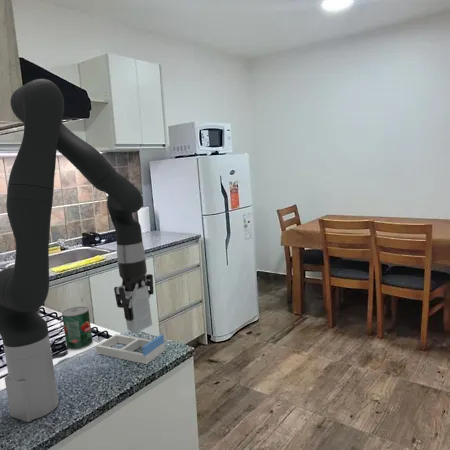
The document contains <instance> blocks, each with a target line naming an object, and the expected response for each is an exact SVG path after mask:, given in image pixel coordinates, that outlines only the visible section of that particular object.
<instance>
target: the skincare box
mask: <svg viewBox="0 0 450 450" xmlns="http://www.w3.org/2000/svg"><path fill="white" fill-rule="evenodd" d="M148 290H149V287H148V288H147V286H144V287H140V288H138V289H137V290H136V295H135V299H134V300H131V302H132V311H133V320H132V321H128V320H126V319H125V322H126V329H127V331H129V332H133V333H135V334H136V333H139V332H142V331H144V330H145V329H147V328H149V327H151V326H153V319H152V314H151V304H150V298H149V296H148ZM132 293H133V292H132V291H131V292H129V291H127V292H125V295H126V296H130V297H131V296H132ZM128 301H129V299H127V303H128Z"/></svg>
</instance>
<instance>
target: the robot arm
mask: <svg viewBox="0 0 450 450" xmlns="http://www.w3.org/2000/svg"><path fill="white" fill-rule="evenodd" d="M64 99H65V98H64V96H63V93H62V92H61V90H60V88H59V86H58V85H57V84H55V83H54V82H53V81H51V80H50V79H46V78H37V79H33V80H30V81H27V83H26V84H23V85H22V86H20V87H19V88H17V89H15V90H14V91H13V92H12V94H11V97H10V108H11V110H12V112H13V114H14V116H16V118H18V120H19V121H20V122H21V123H22V124H23V136H22V140H21V144H20V146H19V148H18V153H17V155H16V157H15V159H14V160H13V161H14V162H13V164H12V167H11V169H10V172H9V179H8V182H7V192H6V204H5V205H6V213H7V218H8V220H9V221H8V222H9V225H10V228H11V231H12V234H13V237H14V242H15V243H14V244H15V256H14V257H15V259H14V266H13V267H7V268H4V269H2V270H0V337H1V339H2V344H3V351H4V356H5V362H6V369H7V375H6V376H5V378H4V383H5V384H4V385H5V390H6V396H7V401H8V406H9V407H8V408H9V412H10V417H11V418H15V419H17V420H19V421H22V422H25V423H30V422H31V421H33V420H37V419H40V418H42V417H45V416H47V415H49V414H50V413H52V412H53V411H54V410H55V409H56V408H57V407H58V405H59V402H60V401H59V396H58V395H59V394H58V387H57V382H56V375H55V368H54V362H53V355H52V348H51V341H50V335H49V328H48V327H49V326H48V323H47V322H46V320H45V318H43V317H42V316H41V315H40V313H38V310H39V309H40V308H41V307H42V306H44V304H45V302H46V300H47V297H48V295H49V291H50V290H49V289H50V256H49V255H50V254H49V253H50V249H49V248H50V236H51V235H50V234H51V233H50V232H51V220H52V219H51V218H52V209H53V201H54V190H55V189H54V188H55V173H56V165H57V163H56V162H57V152H58V153H60V154H61V155H62V156H63V157H64V158H65V159H67V160H68V161H69V163H70V164H72V165H73V167H75V168H76V170H78V171H79V172H80V174H81V175H82V176H84V178H85V179H86V180H87V181H88V182H89V183H90V184H91V185H92V186H93V187H94V188H95V189H96V190H98V191H100V192H102V193H103V192H104V193H105V194H107V199H106V205H107V206H106V207H107V210H108V214H109V217H110V220H111V222H112V223H111V224H112V225H113V228H114V230H115V231H114V232H115V242H116V256H117V264H118V265H117V266H118V267H117V268H118V273H119V277H120V278H121V279H122V282H121V285H119V286H115V287H114V288H113V291H114V296H115V300H116V307H117V308H121V309H123V312H124V313H123V314H124V319H125V321H126V320H128V321H132V320H133V311H132V302H131V300H134V299H135V295H136V290H137V289H138V288H140V287H144V286H147V288H148V296H149V299H150V297H151V295H154V278H153V276H154V275H152V274H150V273H147V272H148V270H147V262H146V253H145V246H144V243H143V235H142V227H141V224H140V222H138V221H137V220H136V219H135V218H134V216H133V214H135V213H137V212H139V211H140V210H141V209H142V207H143V204H144V202H143V200H144V199H143V194H141V191H140V190H139V189H138V188H137V187H136V186H135V185H134V183H132V182H131V181H130V180H128V179H127V178H126V177H124V175H122V174H121V173H119V172H118V171H117V170H116V169H115V168H114V167H113V165H112V164H111V163H110V162H109V161H108V160H107V159H106V157H104V155H103V154H101V152H100V151H98V149H96V148H95V147H94V146H92V145H91V144H89V143H88V142H87V141H85V140H83V139H82V138H81V137H79V135H76V134H75V133H74V132H73V131H71V130H70V129H69V128H68V127H67V126H66V125H65V124H64V123H63V117H64V112H65V100H64ZM127 291H129V292H131V291H132V292H133V293H132V296H131V297H130V296H126V295H125V292H127ZM127 299H129V301H128V303H127Z"/></svg>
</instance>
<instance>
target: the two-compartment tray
mask: <svg viewBox="0 0 450 450" xmlns="http://www.w3.org/2000/svg"><path fill="white" fill-rule="evenodd" d="M164 339H165V338H164V334H160V335H157V337H155V338H153V339H146V338H141V337H135V336H129V335H123V334H117V333H116V334H114V335H112V336H111V337H109V338H107V339H105V340H104V341H102V342H100V343H98V344H97V345H95V348H96V349H95V350H96V354H97V353H99V354H98V355H100V354H103V355H102V356H105V355H107V356H106V357H109V356H111V357H110V358H114V357H115V359H119V360H125V361H129V362H134V363H138V364H144V365H148V363H150V362H152V361H153V360H154V359H156V358H157V357H159V356H160V355H161V354H162V353H164V352H165V351H166V348H165V340H164ZM116 344H121V345H125V346H123V347H122V348H116V347H113V346H115V345H116ZM111 346H112V347H111ZM140 348H142V353H141V352H136V350H138V349H140Z"/></svg>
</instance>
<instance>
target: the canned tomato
mask: <svg viewBox="0 0 450 450" xmlns="http://www.w3.org/2000/svg"><path fill="white" fill-rule="evenodd" d="M61 316H62V317H61V318H62V323H63V329H64V337H65V338H64V339H65V345H66V346H67V347H66V349H68V350H71V351H72V350H74V351H76V350H82V349H86V348H87V347H89V346H91V345H92V344H93V342H94V341H93V335H92V334H93V333H92V326H91V320H90V319H91V318H90V311H89V307H88V306H82V305H81V306H75V307H70V308H67V309H65V310H63V311H62V312H61Z"/></svg>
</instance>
